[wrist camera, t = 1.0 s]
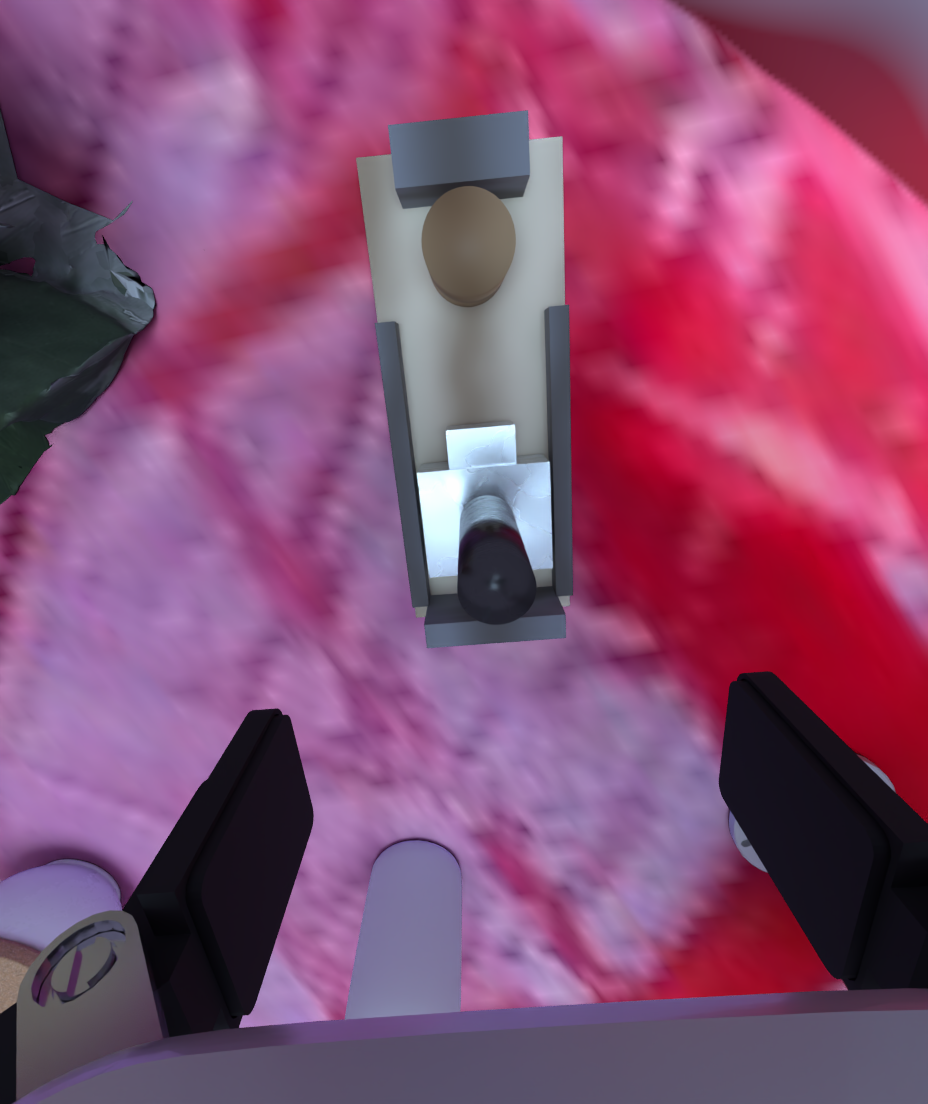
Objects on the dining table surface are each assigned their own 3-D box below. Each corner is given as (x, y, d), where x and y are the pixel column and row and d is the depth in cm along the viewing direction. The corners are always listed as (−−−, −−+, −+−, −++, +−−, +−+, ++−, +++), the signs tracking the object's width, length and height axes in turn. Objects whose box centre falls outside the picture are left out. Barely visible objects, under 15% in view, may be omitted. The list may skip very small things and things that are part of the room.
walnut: (503, 215, 25) (513, 181, 21) (508, 303, 27) (518, 290, 22) (424, 223, 25) (416, 191, 21) (433, 310, 27) (427, 299, 22)
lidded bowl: (6, 819, 42) (-148, 968, 31) (160, 855, 43) (63, 1010, 32) (2, 919, 46) (-135, 1081, 35) (144, 949, 47) (52, 1114, 36)
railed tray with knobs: (555, 153, 26) (580, 93, 20) (564, 593, 34) (583, 636, 29) (363, 173, 26) (336, 119, 21) (418, 604, 35) (409, 649, 29)
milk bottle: (364, 841, 42) (283, 1219, 23) (455, 832, 42) (448, 1209, 23) (381, 905, 45) (320, 1292, 26) (467, 897, 44) (468, 1284, 26)
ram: (540, 417, 28) (590, 447, 17) (545, 551, 31) (589, 651, 20) (417, 428, 29) (387, 465, 17) (432, 560, 31) (414, 664, 20)
